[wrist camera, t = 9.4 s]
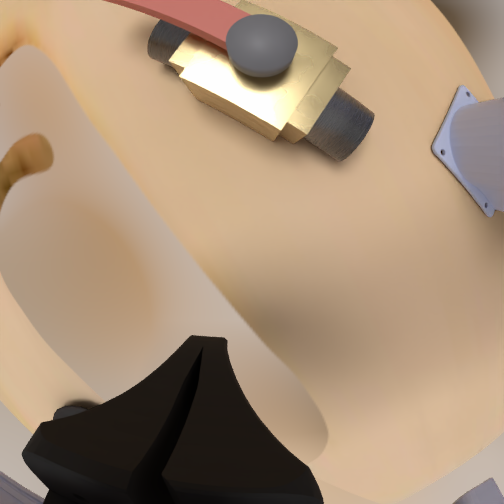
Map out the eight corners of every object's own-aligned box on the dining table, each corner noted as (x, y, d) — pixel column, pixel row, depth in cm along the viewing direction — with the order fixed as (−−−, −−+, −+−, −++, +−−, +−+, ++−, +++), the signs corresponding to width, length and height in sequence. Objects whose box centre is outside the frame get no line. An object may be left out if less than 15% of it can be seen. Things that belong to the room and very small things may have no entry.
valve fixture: (364, 108, 17) (402, 89, 11) (323, 174, 18) (351, 175, 13) (198, 17, 15) (182, -24, 9) (151, 78, 16) (119, 50, 11)
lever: (269, 89, 11) (270, 82, 10) (85, 4, 9) (77, -3, 8) (307, 46, 11) (311, 37, 10) (118, -31, 9) (112, -39, 7)
